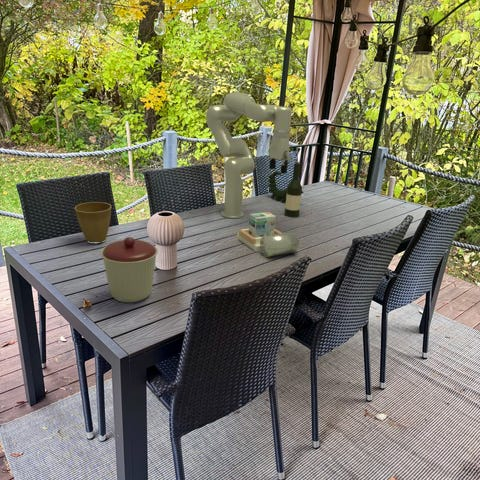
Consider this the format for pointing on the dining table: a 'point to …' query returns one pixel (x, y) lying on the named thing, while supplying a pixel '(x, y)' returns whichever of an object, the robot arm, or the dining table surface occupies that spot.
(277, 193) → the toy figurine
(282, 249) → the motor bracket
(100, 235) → the plant pot
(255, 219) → the light bulb box
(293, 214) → the wine bottle
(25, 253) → the dining table surface
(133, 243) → the canister
